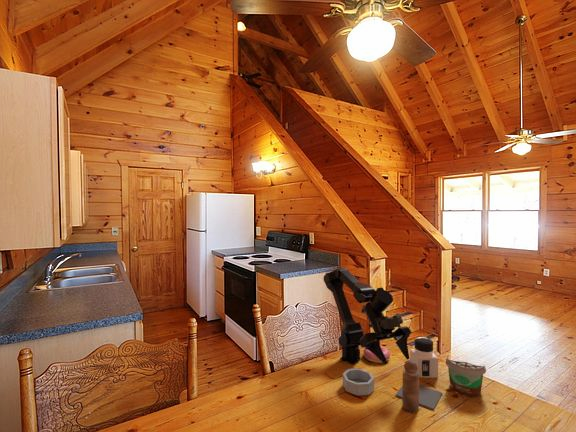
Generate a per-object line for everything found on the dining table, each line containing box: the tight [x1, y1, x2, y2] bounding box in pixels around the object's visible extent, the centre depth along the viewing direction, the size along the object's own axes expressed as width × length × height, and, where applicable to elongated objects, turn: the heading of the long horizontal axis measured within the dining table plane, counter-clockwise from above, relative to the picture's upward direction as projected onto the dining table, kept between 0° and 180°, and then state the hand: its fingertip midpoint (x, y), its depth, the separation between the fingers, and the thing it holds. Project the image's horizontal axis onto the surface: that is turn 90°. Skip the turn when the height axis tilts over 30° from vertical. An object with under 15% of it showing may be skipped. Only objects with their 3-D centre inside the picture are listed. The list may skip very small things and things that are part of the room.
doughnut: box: [362, 345, 391, 364], centre depth 132 cm, size 11×11×4 cm
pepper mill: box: [401, 359, 420, 414], centre depth 98 cm, size 5×5×15 cm
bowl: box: [342, 368, 375, 396], centre depth 110 cm, size 10×10×4 cm
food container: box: [445, 356, 487, 398], centre depth 106 cm, size 12×6×10 cm, turn 62°
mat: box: [395, 384, 443, 411], centre depth 106 cm, size 12×11×1 cm
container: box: [409, 336, 439, 379], centre depth 120 cm, size 8×8×13 cm
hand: (397, 361), depth 104 cm, fingers open, 9 cm apart
